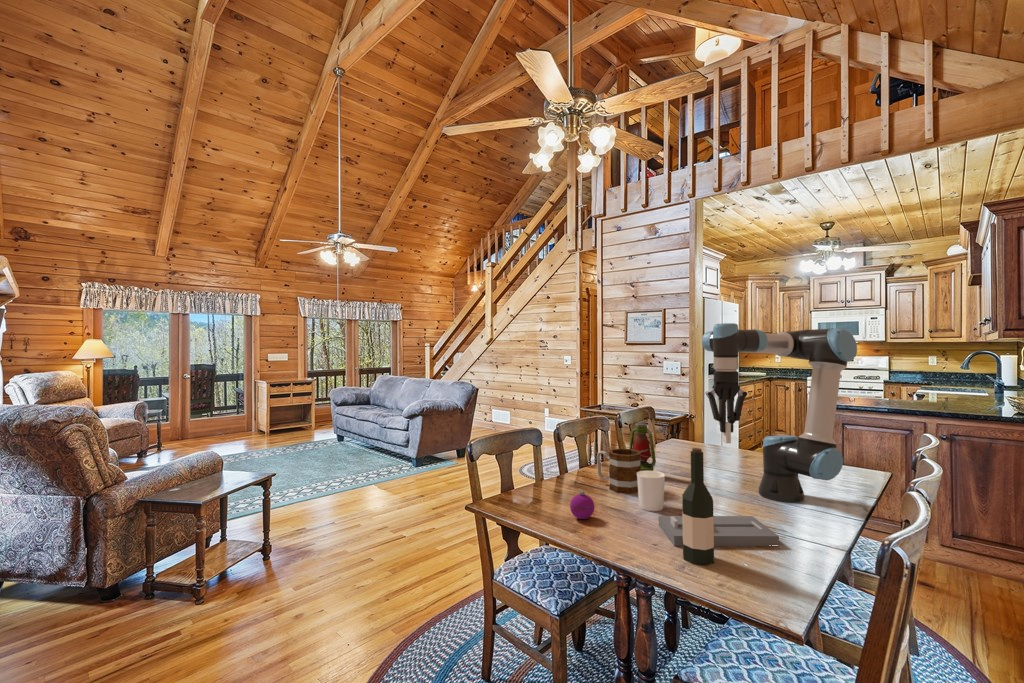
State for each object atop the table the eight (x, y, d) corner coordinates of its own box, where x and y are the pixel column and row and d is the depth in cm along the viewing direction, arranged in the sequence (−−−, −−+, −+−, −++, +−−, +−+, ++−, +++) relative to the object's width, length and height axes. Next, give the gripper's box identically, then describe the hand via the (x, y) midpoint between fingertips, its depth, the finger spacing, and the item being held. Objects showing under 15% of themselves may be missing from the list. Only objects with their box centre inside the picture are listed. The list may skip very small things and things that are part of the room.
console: (752, 525, 153) (752, 509, 153) (779, 546, 137) (778, 529, 137) (658, 525, 153) (658, 509, 153) (674, 546, 137) (674, 528, 137)
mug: (648, 488, 193) (647, 451, 194) (633, 496, 183) (632, 457, 183) (605, 479, 206) (604, 445, 206) (589, 486, 196) (588, 450, 196)
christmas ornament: (567, 521, 158) (567, 491, 158) (573, 513, 165) (573, 484, 166) (591, 524, 155) (591, 493, 155) (596, 515, 162) (596, 486, 162)
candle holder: (666, 513, 165) (666, 478, 165) (637, 511, 167) (637, 477, 167) (663, 503, 174) (663, 471, 174) (636, 502, 176) (635, 469, 176)
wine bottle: (676, 552, 133) (675, 446, 133) (705, 551, 134) (704, 445, 134) (690, 566, 125) (689, 452, 125) (720, 565, 126) (719, 451, 126)
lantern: (622, 474, 213) (621, 408, 214) (634, 470, 221) (634, 405, 221) (649, 480, 203) (649, 411, 204) (662, 475, 211) (661, 408, 211)
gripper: (740, 369, 159) (741, 440, 159) (701, 369, 159) (702, 440, 159) (751, 370, 151) (752, 444, 151) (710, 371, 152) (711, 444, 151)
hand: (726, 442), depth 155 cm, fingers closed
